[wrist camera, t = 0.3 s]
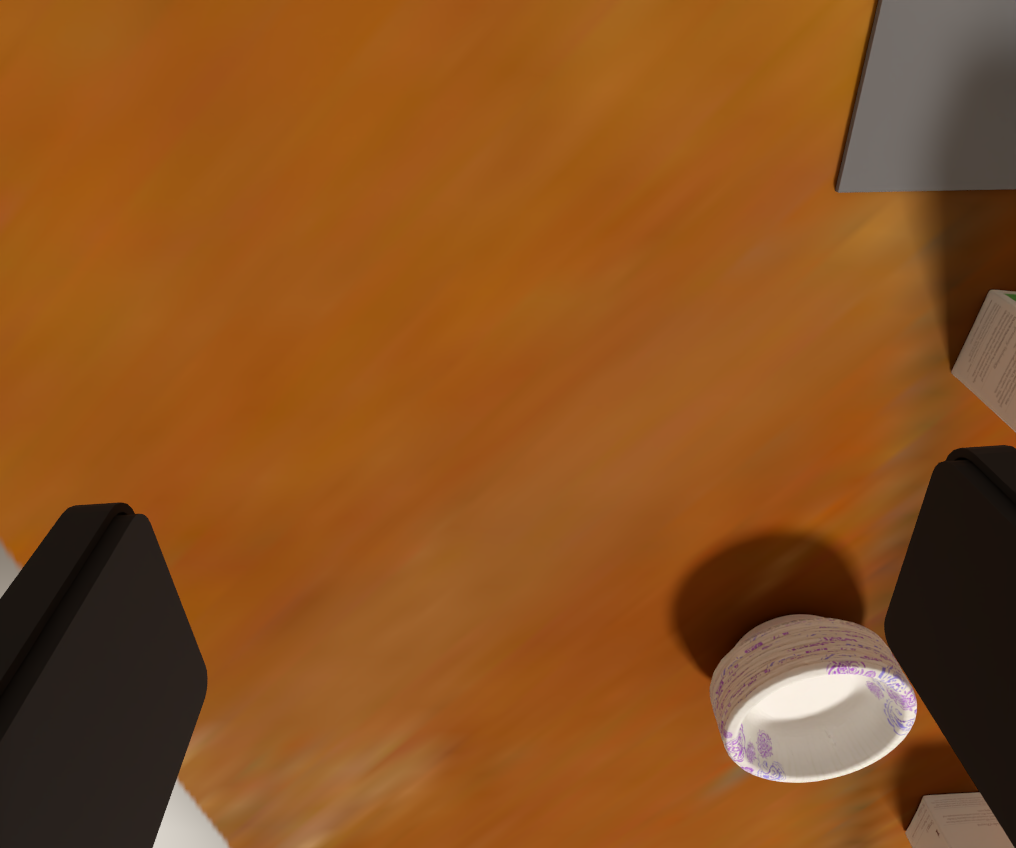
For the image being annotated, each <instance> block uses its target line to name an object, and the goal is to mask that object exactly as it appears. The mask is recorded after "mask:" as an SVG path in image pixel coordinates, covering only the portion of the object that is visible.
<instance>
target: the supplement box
mask: <svg viewBox="0 0 1016 848" xmlns="http://www.w3.org/2000/svg"><path fill="white" fill-rule="evenodd" d="M905 833H906V836H907V838H908V840H909V842H910V844H911V846H912V848H1014V846H1013V845H1012V843H1011V841H1010V840H1009V838H1008V837H1007V835H1006V833H1005V832H1004V830H1003V829H1002V827H1001V825H1000V824H999V822H998V821H997V819H996V817H995V816H994V814H993V813H992V811H991V809H990V808H989V806H988V805H987V803H986V801H985V800H984V798H983V797H982V795H981V793H980V792H976V793H958V794H940V795H926V796H923V798H922V800H921V803H920V805H919V808H918V810H917V812H916V814H915V816H914V818H913V820H912V821H911V824H910V825H909V827H908V829H907V830H906V832H905Z"/></svg>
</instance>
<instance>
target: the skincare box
mask: <svg viewBox="0 0 1016 848" xmlns="http://www.w3.org/2000/svg"><path fill="white" fill-rule="evenodd" d="M951 373H952V374H953V375H954V376H955V377H956V378H958V379H959V380H960V381H961V382H962V383H963V384H964V385H965V386H966V387H967V388H968V389H970V390H971V391H972V392H973V393H974V394H975V395H976V396H977V397H978V398H979V399H980V400H981V401H983V402H984V403H985V404H986V405H987V406H988V407H989V408H990V409H991V410H992V411H993V412H995V413H996V414H997V415H998V416H999V417H1000V418H1001V419H1002V420H1003V421H1004V422H1005V423H1006V424H1007V425H1009V426H1010V427H1011V428H1012V429H1013V430H1014V431H1015V432H1016V292H1014V291H1004V290H990V291H989V292H988V294H987V296H986V299H985V301H984V303H983V305H982V307H981V309H980V312H979V314H978V316H977V318H976V320H975V322H974V324H973V327H972V329H971V331H970V333H969V335H968V337H967V339H966V341H965V344H964V346H963V348H962V350H961V352H960V354H959V356H958V358H957V361H956V363H955V365H954V367H953V369H952V372H951Z"/></svg>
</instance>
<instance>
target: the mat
mask: <svg viewBox="0 0 1016 848" xmlns="http://www.w3.org/2000/svg"><path fill="white" fill-rule="evenodd" d="M998 189H1016V0H879V1H878V5H877V10H876V14H875V19H874V23H873V27H872V32H871V36H870V40H869V45H868V49H867V54H866V58H865V62H864V67H863V71H862V75H861V80H860V84H859V89H858V93H857V97H856V102H855V106H854V110H853V115H852V119H851V124H850V128H849V132H848V137H847V141H846V145H845V150H844V154H843V159H842V163H841V167H840V172H839V176H838V180H837V185H836V189H835V191H836V192H892V191H945V190H998Z"/></svg>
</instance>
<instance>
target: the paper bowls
mask: <svg viewBox="0 0 1016 848" xmlns="http://www.w3.org/2000/svg"><path fill="white" fill-rule="evenodd" d="M710 698H711V703H712V707H713V711H714V714H715V718H716V720H717V723H718V728H719V731H720V733H721V738H722V741H723V743H724V746H725V749H726V750H727V753H728V755H729V756H730V757H731V759H732V760H733V761H734V762H735V763H736V764H737V765H738V766H740V767H741V768H742V769H743V770H745V771H747V772H749V773H751V774H753V775H756V776H758V777H761V778H765V779H768V780H773V781H780V782H799V783H801V782H814V781H820V780H826V779H831V778H835V777H839V776H842V775H846V774H849V773H852V772H854V771H857V770H860V769H862V768H864V767H866V766H868V765H870V764H872V763H874V762H876V761H877V760H879V759H881V758H882V757H884V756H885V755H887V754H888V753H889V752H890V751H892V750H893V749H894V748H895V747H896V746H897V745H898V744H899V743H900V742H901V741H902V740H903V739H904V738H905V737H906V735H907V734H908V732H909V731H910V729H911V727H912V725H913V723H914V721H915V717H916V713H917V702H916V697H915V694H914V691H913V689H912V686H911V685H910V683H909V681H908V680H907V678H906V676H905V675H904V673H903V672H902V670H901V668H900V666H899V664H898V662H897V661H896V659H895V658H894V656H893V655H892V653H891V651H890V649H889V648H888V647H887V645H886V644H885V643H884V641H883V640H882V639H881V638H880V637H879V636H878V635H877V634H876V633H875V632H873V631H871V630H869V629H868V628H866V627H864V626H861V625H859V624H856V623H854V622H850V621H844V620H840V619H833V618H824V617H820V616H816V615H808V614H795V615H787V616H782V617H778V618H775V619H772V620H769V621H767V622H764V623H762V624H760V625H758V626H756V627H755V628H753V629H752V630H750V631H749V632H748V633H747V634H745V635H744V636H743V637H742V638H741V639H740V640H739V642H738V643H737V644H736V645H735V647H734V648H733V649H732V650H731V651H730V652H729V653H728V654H726V656H725V657H724V658H723V659H721V661H720V663H719V664H718V666H717V668H716V669H715V671H714V673H713V677H712V681H711V685H710Z"/></svg>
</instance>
